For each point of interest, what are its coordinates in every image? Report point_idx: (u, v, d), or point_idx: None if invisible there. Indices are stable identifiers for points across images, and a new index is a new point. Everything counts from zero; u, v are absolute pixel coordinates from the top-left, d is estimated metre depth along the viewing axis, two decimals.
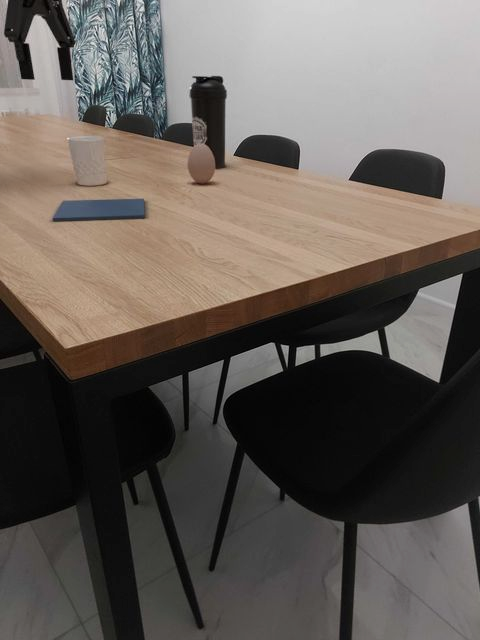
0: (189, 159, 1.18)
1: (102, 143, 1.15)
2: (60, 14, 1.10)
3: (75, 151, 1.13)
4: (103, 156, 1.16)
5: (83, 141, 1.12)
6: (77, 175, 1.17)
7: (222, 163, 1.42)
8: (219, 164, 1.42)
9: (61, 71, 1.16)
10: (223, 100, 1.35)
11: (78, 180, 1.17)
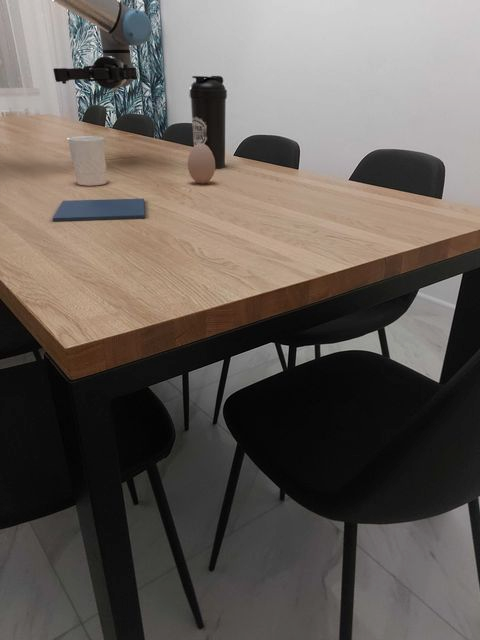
0: (189, 159, 1.18)
1: (102, 143, 1.15)
2: None
3: (75, 150, 1.13)
4: (103, 156, 1.16)
5: (83, 141, 1.12)
6: (77, 175, 1.17)
7: (222, 163, 1.42)
8: (219, 164, 1.42)
9: (59, 70, 1.17)
10: (223, 100, 1.35)
11: (78, 180, 1.17)
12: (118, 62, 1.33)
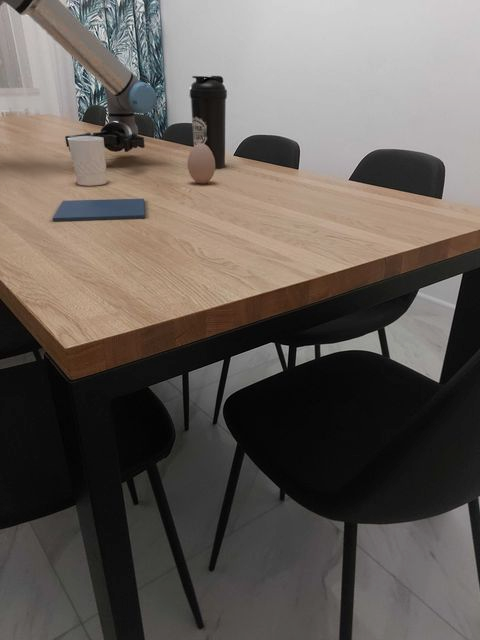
0: (189, 159, 1.18)
1: (102, 143, 1.15)
2: None
3: (75, 151, 1.13)
4: (103, 156, 1.16)
5: (83, 141, 1.12)
6: (77, 175, 1.17)
7: (222, 163, 1.42)
8: (219, 164, 1.42)
9: None
10: (223, 100, 1.35)
11: (78, 180, 1.17)
12: (124, 127, 1.41)
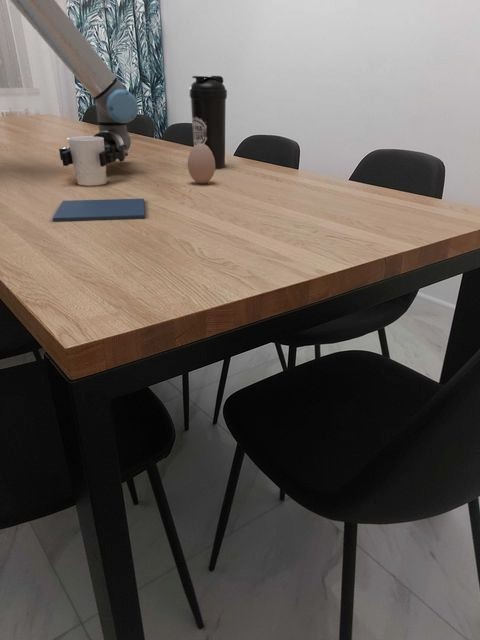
0: (189, 159, 1.18)
1: (102, 143, 1.15)
2: None
3: (75, 150, 1.13)
4: None
5: (83, 141, 1.12)
6: (77, 175, 1.17)
7: (222, 163, 1.42)
8: (219, 164, 1.42)
9: (67, 153, 1.14)
10: (223, 100, 1.35)
11: (78, 180, 1.17)
12: (115, 137, 1.31)
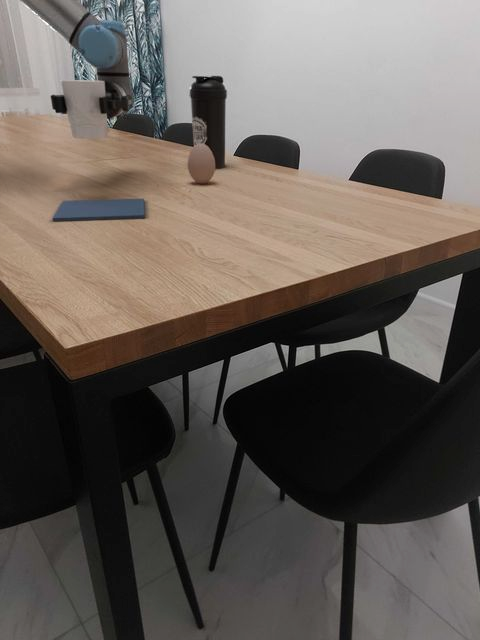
0: (189, 159, 1.18)
1: (102, 86, 0.95)
2: None
3: (69, 94, 0.94)
4: None
5: (80, 82, 0.92)
6: (72, 126, 0.97)
7: (222, 163, 1.42)
8: (219, 164, 1.42)
9: (60, 98, 0.94)
10: (223, 100, 1.35)
11: (74, 132, 0.98)
12: (117, 88, 1.11)
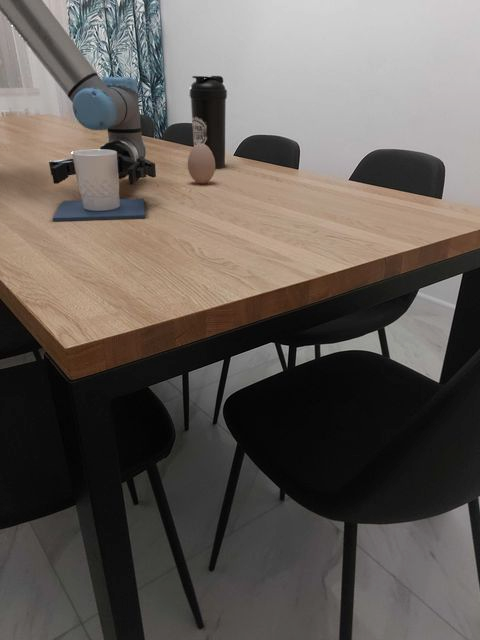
0: (189, 159, 1.18)
1: (115, 158, 0.92)
2: None
3: (81, 168, 0.90)
4: (116, 174, 0.93)
5: (91, 156, 0.88)
6: (83, 198, 0.93)
7: (222, 163, 1.42)
8: (219, 164, 1.42)
9: (58, 168, 0.91)
10: (223, 100, 1.35)
11: (85, 204, 0.94)
12: (129, 148, 1.07)
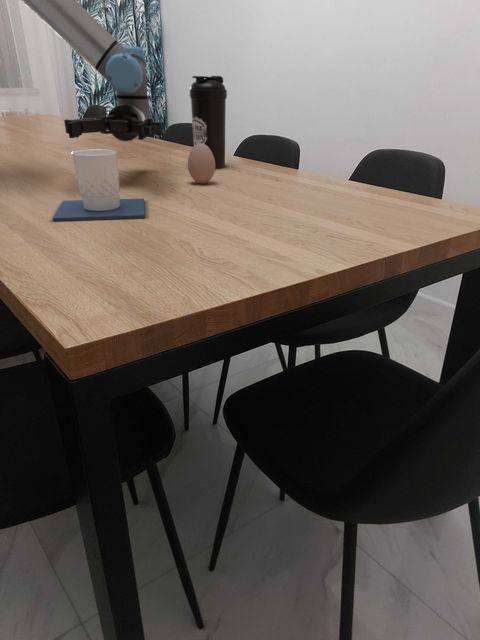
0: (189, 159, 1.18)
1: (115, 158, 0.92)
2: None
3: (81, 168, 0.90)
4: (116, 174, 0.93)
5: (91, 156, 0.88)
6: (83, 198, 0.93)
7: (222, 163, 1.42)
8: (219, 164, 1.42)
9: (73, 124, 1.00)
10: (223, 100, 1.35)
11: (85, 204, 0.94)
12: (137, 111, 1.16)
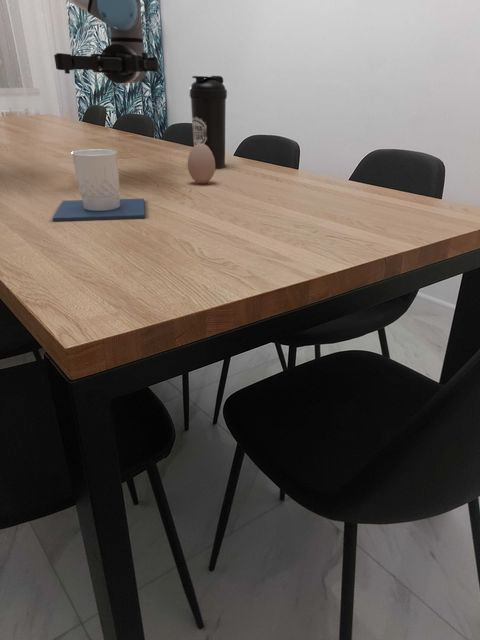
0: (189, 159, 1.18)
1: (115, 158, 0.92)
2: None
3: (81, 168, 0.90)
4: (116, 174, 0.93)
5: (91, 156, 0.88)
6: (83, 198, 0.93)
7: (222, 163, 1.42)
8: (219, 164, 1.42)
9: (63, 55, 0.94)
10: (223, 100, 1.35)
11: (85, 204, 0.94)
12: (132, 52, 1.10)
